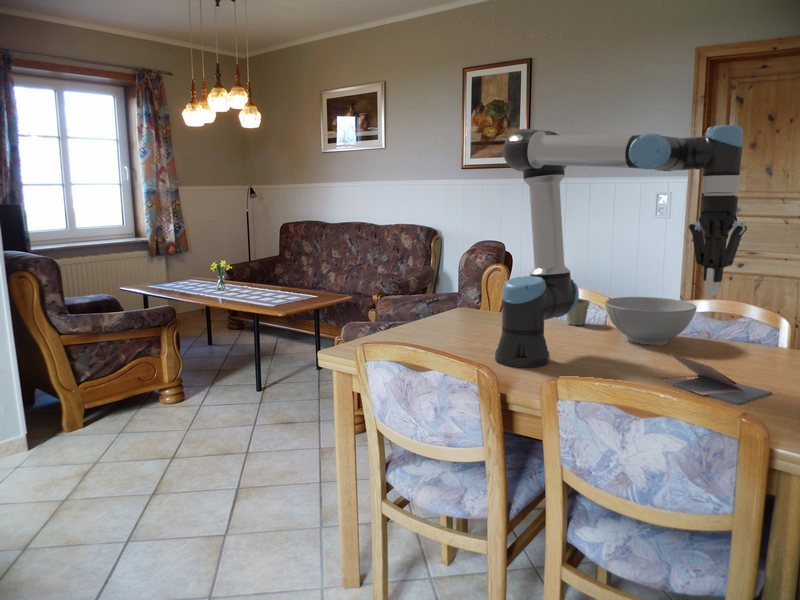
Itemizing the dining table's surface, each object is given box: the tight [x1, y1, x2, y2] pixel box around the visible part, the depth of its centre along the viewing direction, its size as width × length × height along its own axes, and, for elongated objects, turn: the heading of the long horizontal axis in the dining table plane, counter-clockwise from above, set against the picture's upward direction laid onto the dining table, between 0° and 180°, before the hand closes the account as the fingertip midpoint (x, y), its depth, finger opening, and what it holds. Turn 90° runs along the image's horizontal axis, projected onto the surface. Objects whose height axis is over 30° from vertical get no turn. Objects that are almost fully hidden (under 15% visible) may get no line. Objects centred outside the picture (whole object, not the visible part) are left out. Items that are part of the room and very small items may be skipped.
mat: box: [672, 376, 773, 406], centre depth 142 cm, size 14×16×1 cm
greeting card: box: [661, 352, 743, 396], centre depth 145 cm, size 11×7×15 cm
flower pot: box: [565, 298, 592, 326], centre depth 215 cm, size 9×9×9 cm
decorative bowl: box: [604, 296, 698, 346], centre depth 189 cm, size 27×27×12 cm
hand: (711, 295), depth 141 cm, fingers closed
